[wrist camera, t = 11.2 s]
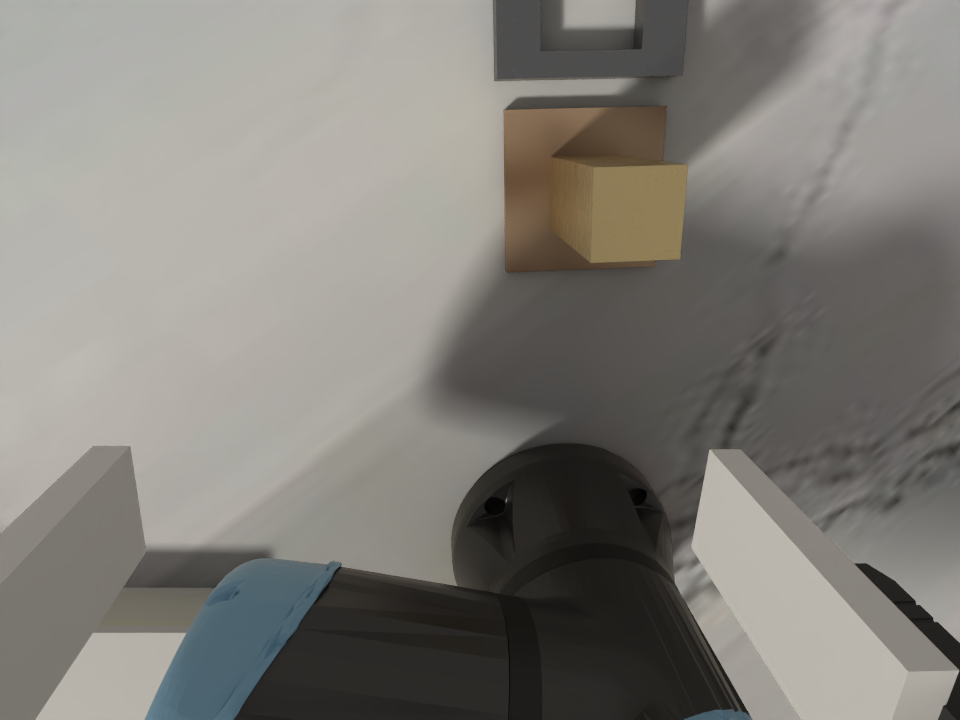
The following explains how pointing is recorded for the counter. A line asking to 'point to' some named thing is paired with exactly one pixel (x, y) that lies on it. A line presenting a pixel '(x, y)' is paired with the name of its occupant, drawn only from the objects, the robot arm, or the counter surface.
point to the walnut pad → (529, 173)
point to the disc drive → (126, 655)
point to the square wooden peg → (618, 206)
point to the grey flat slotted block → (650, 58)
